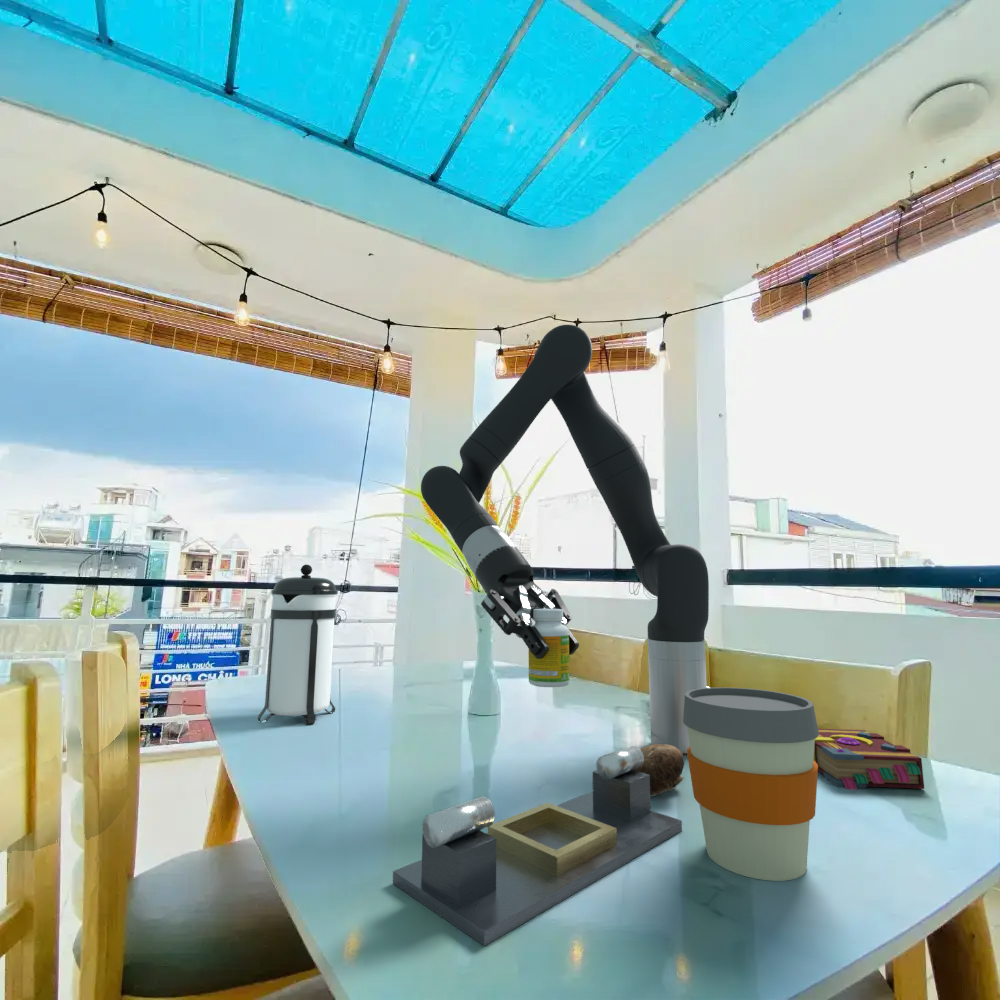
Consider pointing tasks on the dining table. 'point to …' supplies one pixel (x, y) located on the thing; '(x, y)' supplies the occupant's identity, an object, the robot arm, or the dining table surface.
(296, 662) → the coffee press
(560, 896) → the shaft bench
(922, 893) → the dining table surface
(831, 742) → the decorative book
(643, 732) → the dining table surface
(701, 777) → the reusable coffee cup
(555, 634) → the supplement bottle
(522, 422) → the robot arm
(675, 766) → the brown rough round lump
